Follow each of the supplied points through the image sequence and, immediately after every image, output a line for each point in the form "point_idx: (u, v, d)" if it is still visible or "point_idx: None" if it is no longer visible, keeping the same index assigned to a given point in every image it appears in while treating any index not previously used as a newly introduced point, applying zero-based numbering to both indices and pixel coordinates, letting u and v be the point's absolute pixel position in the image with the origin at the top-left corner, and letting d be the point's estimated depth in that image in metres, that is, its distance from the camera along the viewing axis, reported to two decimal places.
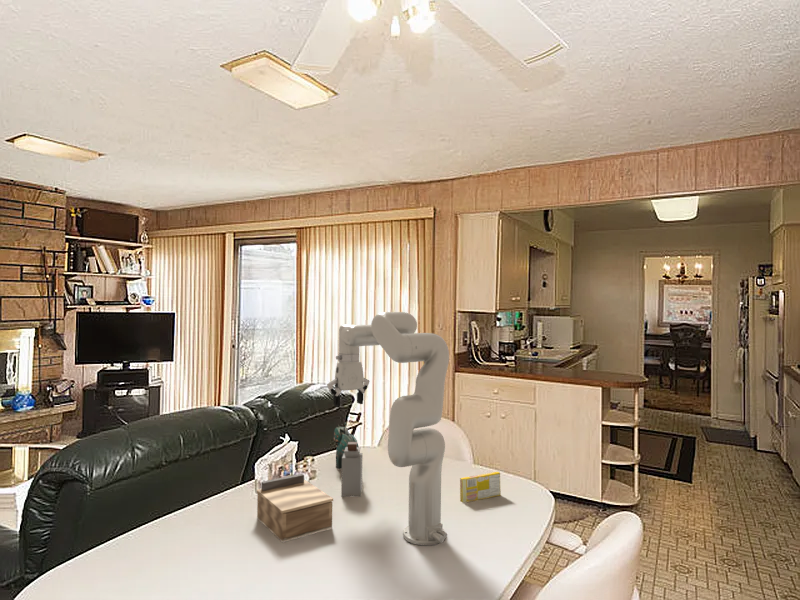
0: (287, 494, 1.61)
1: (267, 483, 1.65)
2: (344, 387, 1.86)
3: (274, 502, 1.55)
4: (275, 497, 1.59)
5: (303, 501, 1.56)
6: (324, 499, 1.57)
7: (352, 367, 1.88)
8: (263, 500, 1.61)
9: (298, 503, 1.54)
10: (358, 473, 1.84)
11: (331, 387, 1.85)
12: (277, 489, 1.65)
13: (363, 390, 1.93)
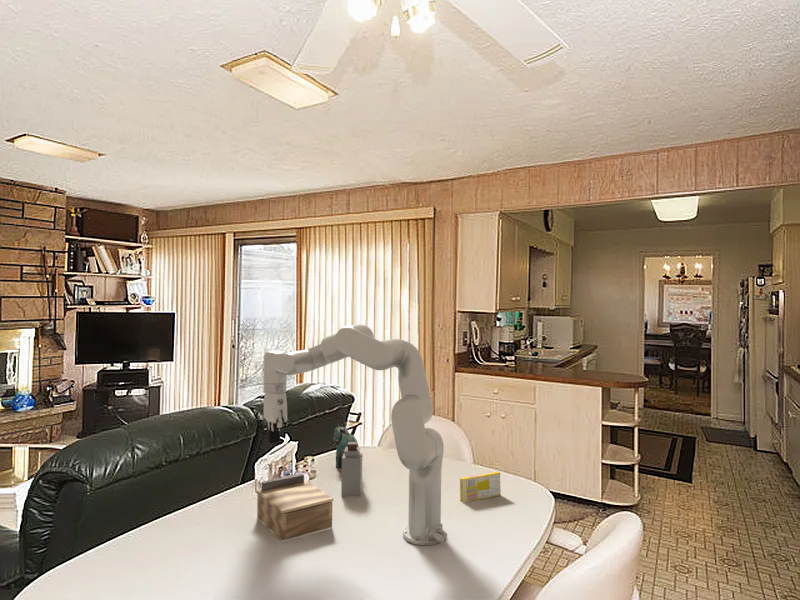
0: (287, 494, 1.61)
1: (267, 483, 1.65)
2: None
3: (274, 502, 1.55)
4: (275, 497, 1.59)
5: (303, 501, 1.56)
6: (324, 499, 1.57)
7: None
8: (263, 500, 1.61)
9: (298, 503, 1.54)
10: (358, 473, 1.84)
11: None
12: (277, 489, 1.65)
13: None
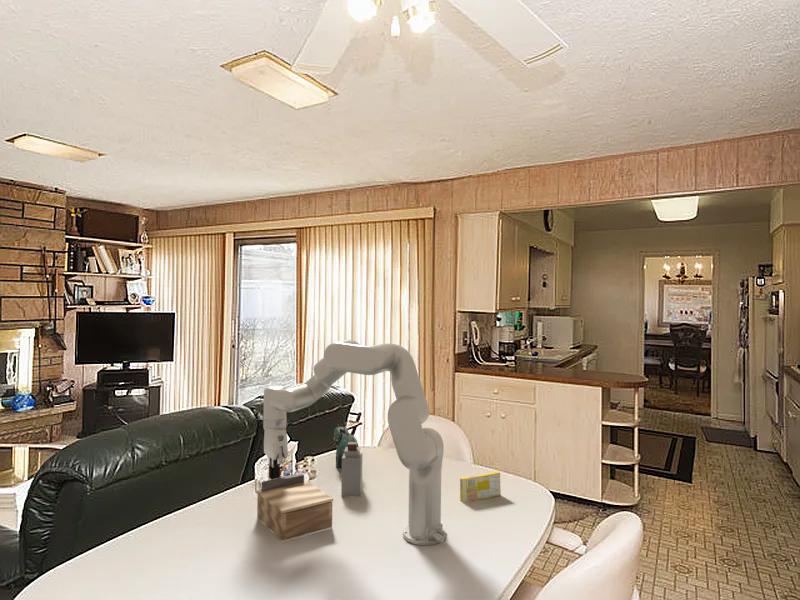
0: (287, 494, 1.61)
1: (267, 483, 1.65)
2: None
3: (274, 502, 1.55)
4: (275, 497, 1.59)
5: (303, 501, 1.56)
6: (324, 499, 1.57)
7: None
8: (263, 500, 1.61)
9: (298, 503, 1.54)
10: (358, 473, 1.84)
11: None
12: (277, 489, 1.65)
13: None
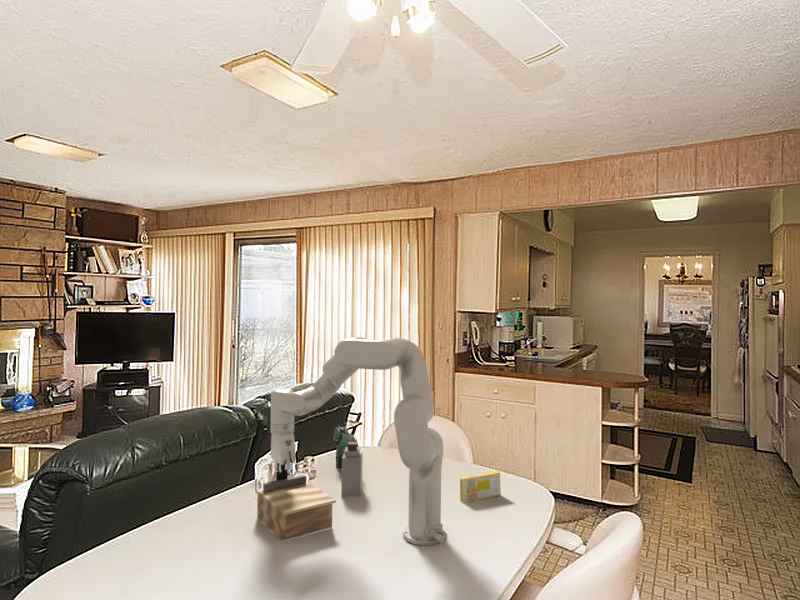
0: (289, 496, 1.60)
1: (269, 484, 1.63)
2: None
3: (276, 504, 1.53)
4: (277, 499, 1.57)
5: (305, 503, 1.54)
6: (326, 501, 1.56)
7: None
8: (263, 500, 1.61)
9: (300, 505, 1.53)
10: (358, 473, 1.84)
11: None
12: (279, 490, 1.64)
13: None
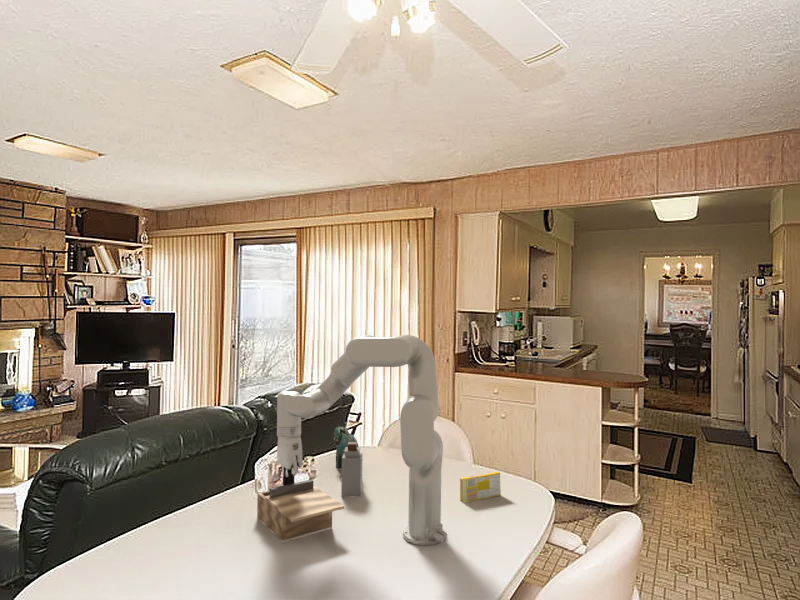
0: (296, 501, 1.56)
1: (275, 490, 1.59)
2: None
3: (283, 510, 1.49)
4: (284, 504, 1.53)
5: (313, 509, 1.50)
6: (335, 506, 1.52)
7: None
8: (263, 500, 1.61)
9: (308, 511, 1.49)
10: (358, 473, 1.84)
11: None
12: (286, 496, 1.60)
13: None
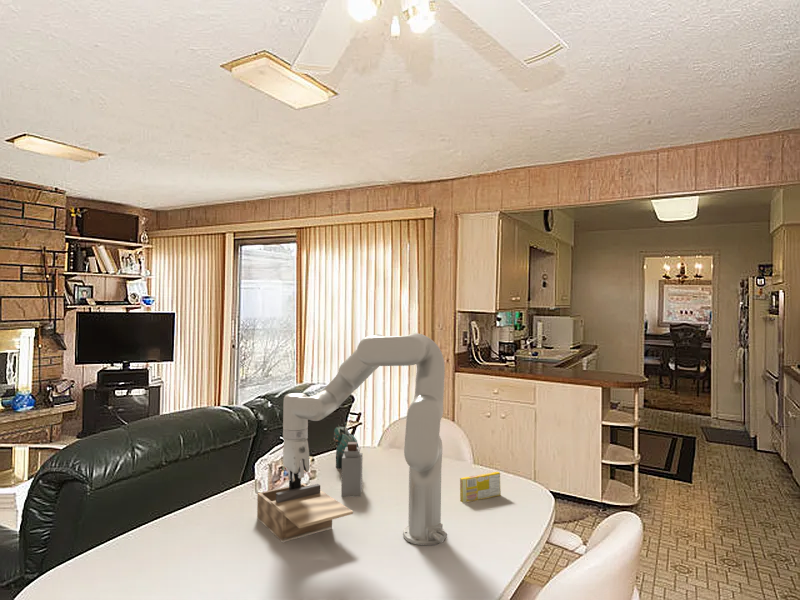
0: (303, 506, 1.52)
1: (282, 494, 1.55)
2: None
3: (290, 515, 1.45)
4: (291, 510, 1.49)
5: (321, 514, 1.46)
6: (343, 512, 1.48)
7: None
8: (263, 500, 1.61)
9: (316, 516, 1.45)
10: (358, 473, 1.84)
11: None
12: (292, 501, 1.56)
13: (296, 475, 1.63)
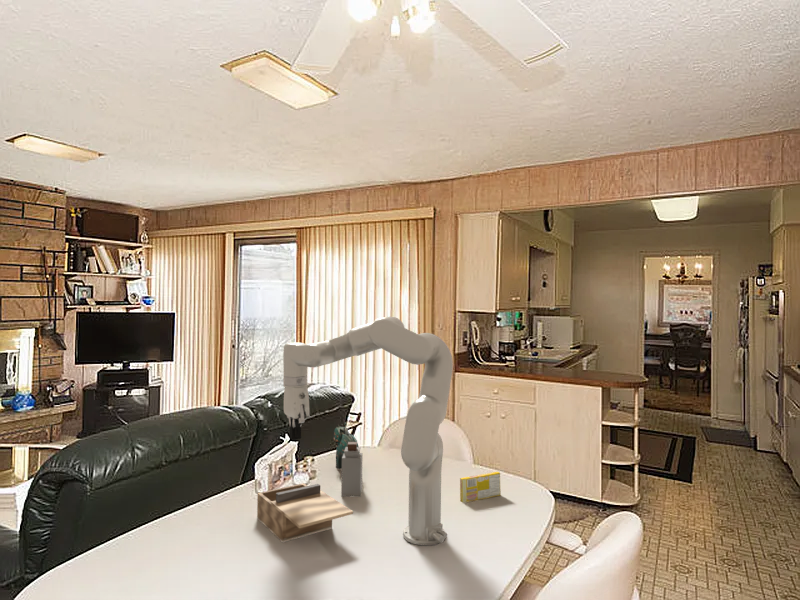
0: (304, 506, 1.52)
1: (282, 494, 1.55)
2: None
3: (290, 515, 1.45)
4: (291, 510, 1.49)
5: (321, 514, 1.46)
6: (343, 512, 1.48)
7: None
8: (263, 500, 1.61)
9: (316, 516, 1.45)
10: (358, 473, 1.84)
11: None
12: (292, 501, 1.56)
13: None
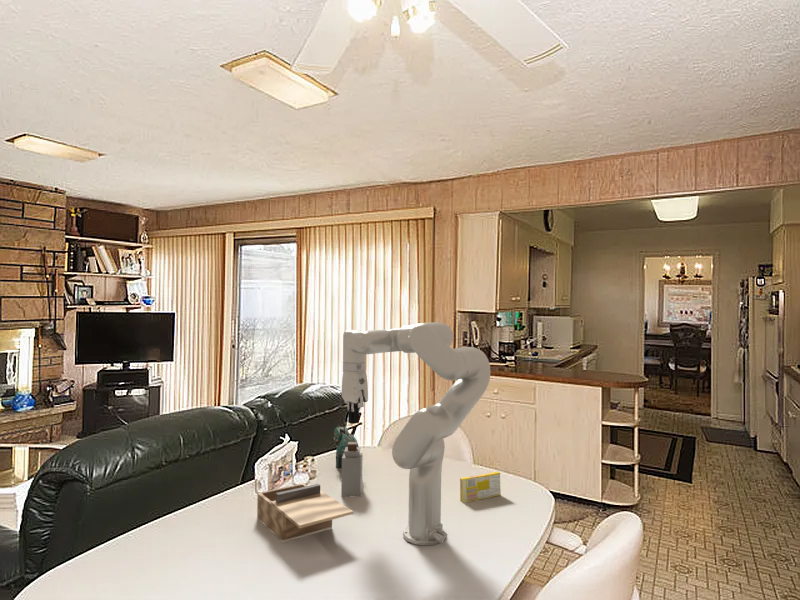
0: (304, 506, 1.52)
1: (282, 494, 1.55)
2: None
3: (290, 515, 1.45)
4: (291, 510, 1.49)
5: (321, 514, 1.46)
6: (343, 512, 1.48)
7: None
8: (263, 500, 1.61)
9: (316, 516, 1.45)
10: (358, 473, 1.84)
11: None
12: (292, 501, 1.56)
13: None
